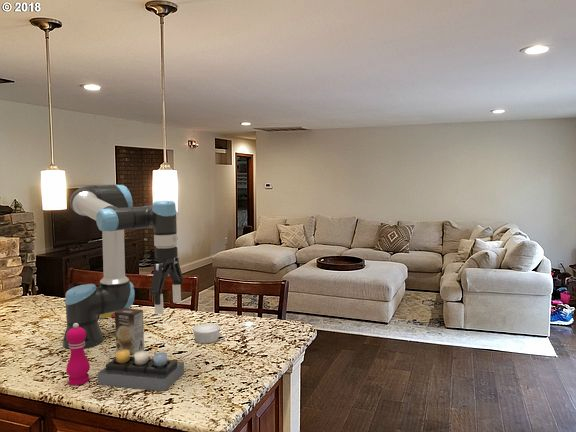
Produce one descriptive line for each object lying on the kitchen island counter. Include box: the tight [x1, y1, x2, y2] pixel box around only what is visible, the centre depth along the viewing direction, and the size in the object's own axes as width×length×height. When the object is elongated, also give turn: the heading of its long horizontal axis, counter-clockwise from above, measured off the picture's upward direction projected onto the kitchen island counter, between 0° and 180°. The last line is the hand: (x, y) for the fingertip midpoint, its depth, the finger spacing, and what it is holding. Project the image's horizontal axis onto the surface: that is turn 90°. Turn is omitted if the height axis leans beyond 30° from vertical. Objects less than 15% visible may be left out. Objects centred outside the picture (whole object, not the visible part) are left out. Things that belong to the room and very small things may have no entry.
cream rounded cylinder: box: [133, 350, 149, 366], centre depth 156 cm, size 4×4×7 cm
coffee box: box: [114, 307, 145, 355], centre depth 182 cm, size 9×6×16 cm
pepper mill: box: [65, 323, 91, 386], centre depth 155 cm, size 7×7×20 cm
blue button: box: [152, 352, 168, 368], centre depth 155 cm, size 4×4×7 cm
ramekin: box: [192, 322, 221, 344], centre depth 193 cm, size 11×11×5 cm
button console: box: [97, 356, 185, 392], centre depth 157 cm, size 24×14×6 cm, turn 77°
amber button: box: [115, 349, 131, 365], centre depth 158 cm, size 4×4×7 cm
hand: (168, 308), depth 159 cm, fingers open, 13 cm apart
